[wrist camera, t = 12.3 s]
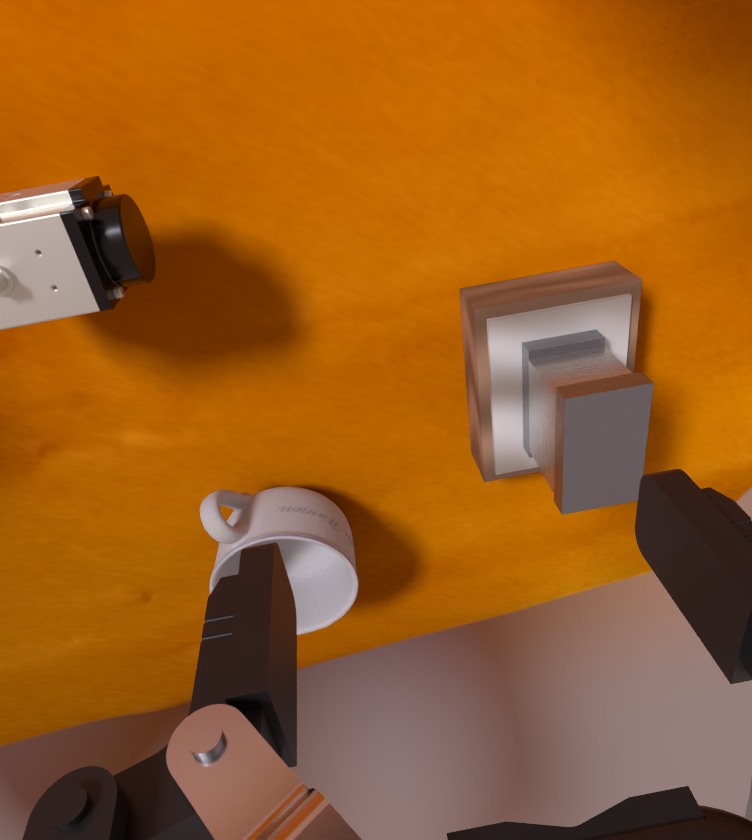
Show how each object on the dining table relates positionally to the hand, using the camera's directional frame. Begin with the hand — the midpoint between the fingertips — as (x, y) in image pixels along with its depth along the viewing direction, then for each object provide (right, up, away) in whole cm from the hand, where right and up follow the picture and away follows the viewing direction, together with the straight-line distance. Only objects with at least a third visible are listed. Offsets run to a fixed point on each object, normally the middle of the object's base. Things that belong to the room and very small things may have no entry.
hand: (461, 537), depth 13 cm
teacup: (-10, -5, +37) cm, 39 cm away
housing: (+11, +5, +29) cm, 31 cm away
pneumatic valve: (-20, +15, +24) cm, 35 cm away
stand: (+10, +7, +33) cm, 35 cm away
